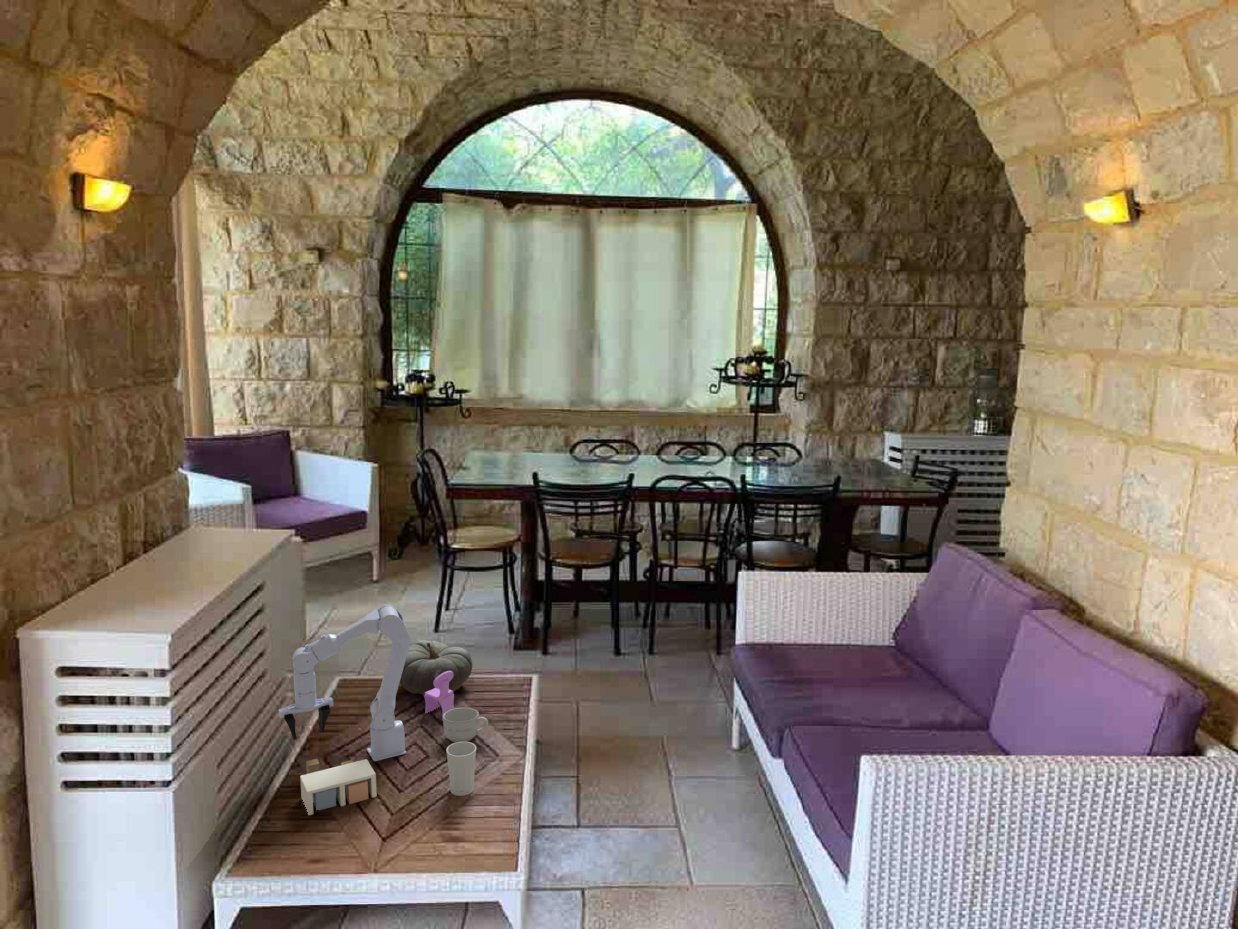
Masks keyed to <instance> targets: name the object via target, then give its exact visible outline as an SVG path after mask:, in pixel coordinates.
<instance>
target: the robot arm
mask: <svg viewBox="0 0 1238 929" xmlns="http://www.w3.org/2000/svg"><path fill="white" fill-rule="evenodd" d="M379 631H380V634H383V636H386V637H387V638H389V639H390V640H391V642H392V644H391V647H390V651H389V654H388V658H387V662H386V666H385V670H384V673H383V677H382V681H381V684H380V688H379V690H378V692H377V693H376V696H375V698H374V699H373V700H372V701H371V703H370V706H369V711H370V714H371V717H372V719H371V722H370V723H369V733H370V747H367V748H366V751H367V752H368V754H369V756H370V758H371V759H372V761H373V762H378V761H382V760H385V759H389V758H393V757H399V756H401V755H405V754H407V751H406V740H405V739H406V738H405V737H406V736H405V727H404V724H403V722H402V720H399V719H398V720H396V717H395V709H396V698H397V697H396V696H397V693H398V690H399V685H400V679H401V675H402V672H403V668H404V664H405V661H406V657H407V653H408V650H409V646H411V642H412V638H411V636H410V632H409V630H408V628H407V625H406V623H405V620H404V618H403V615H402V613H401V612H400V611H399V610H398V609H397V608H396V607H395V606H394V605H392V604H385V605H382V606H381V607H379V608H376V609H374V610H372V611H371V612H369V613H368V614H367V615H365V616H364V617H362V618H360V619H359V620H357V621H356V622H354V623H352V624H351V625H350V626H347V627H346V628H345V629H343V630H341V631H339V632H337V633H336V634H332V633H328V634H325V633H323V634H322V635H320V638H319V639H317V640H315V641H313V642H311V643H310V644H309V643H307V644H305V645H304V647H303V646H301V647H299V648H297V649H295V650H294V651H293V653H292V657H291V659H292V668H293V688H294V689H293V690H294V691H293V692H294V701H295V702H294V703H293V704H290V705H288V706H286V707H285V706H284V707H283V708H279V709H278V717H279V718H280V719H284V721H285V722H286V724H287V727H288V728H289V730H290V734H291V737H292V740H293V741H295V740H297V732H296V718H295V716H294V715H297V714H301V713H307V712H311V711H314V710H316V709H317V710H318V712H317V713H318V718H319V719H318V723H319V724H318V726H319V727H318V728H319V731H320V732H321V733H322V734H323V733H324V732H325V728H326V723H327V720H328V718H329V715H330V714H331V707H333V706H334V699H333V698H332V697H330V696H329V697H325V698H317V687H316V686H317V685H316V684H317V683H316V672H315V669H314V668H315V665H316V664H319V663H321V662H322V661H325V660H326V659H328V658H329V657H331V656H333V655H335V654H336V653H338V652H339V651H341V650H340V649H341V647H342V645H345V644H346V643H348V642H351V641H352V640H355V639H357V638H358V637H361V636H362V635H364V634H366V633H367V634H368V633H369V634H374V635H379Z"/></svg>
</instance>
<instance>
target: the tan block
mask: <svg viewBox="0 0 1238 929" xmlns="http://www.w3.org/2000/svg"><path fill="white" fill-rule="evenodd" d="M353 762H354V761H353V760H352V759H350V760H346V761H342V762H340V764H341V765H345V764H349V763H353ZM341 765H340V766H341ZM345 799H346V800H347V802H348V804H349V805H352V804H355V803H358V802H362V801H366V800H369V791H368V781H367V780H362V781H358V782H354V783H350V784H347V785H345Z"/></svg>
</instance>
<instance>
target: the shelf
mask: <svg viewBox="0 0 1238 929" xmlns="http://www.w3.org/2000/svg"><path fill="white" fill-rule="evenodd" d="M299 777H300V794H301V797H300V798H301V801H302V800H303V801H302V803H303V802H304V803H303V805H305V806H304V808H305V807H306V808H305V810H306V809H307V810H306V812H308V813H307V815H308V816H312V815H314V804H313V798H312V794H313V793H316V792H320V791H324V790H328V789H332V788H335V792H336V800H337V801H338V803H339V805H340V807H344V806H346V796H345V785H347V784H350V783H354V782H358V781H362V780H367V781H368V794H369V795H370V796H371V798H376V797H378V796H377V794H378V793H377V773H376V772H375V771H374V768H373V767H372V765H371V764H370V762H369V760H368V759H367V758H364V759H362V760H357V761H353V763H349V764H345V765H337V766H334V767H331V768H326V769H320V771H317V772H313V773H309V774H307V773H306V774H302V775H300V776H299Z"/></svg>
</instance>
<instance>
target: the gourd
mask: <svg viewBox="0 0 1238 929" xmlns="http://www.w3.org/2000/svg"><path fill="white" fill-rule="evenodd" d="M471 657H472V656H471V654H470V653H469V651H468V650H467V649H466V648H463V647H459V646H452V647H450V646H449V645H447V644H446V643H443V642H441V641H437V640H432V641H431V640H427V639H423V640H422V639H419V640H416V641H415V642H414V643H413V644H412V645H411V644H410V646H409V650H408V653H407V657H406V661H405V664H404V668H403V672H402V675H401V679H400V683H399V685H400V686H401V687H402V688H404V689H405V690H406V691H408V692H409V693H411V694H416V695H417V694H418V695H422V696H423V697H424V695H425V692H427V691H430V690H432V689H434V688H435V686H434V684H433V682H434V680H435V679H436V678H437V677H438V676H439V675H440V674H442V673H444V672H446V671H452V672H453V678H452V679H451V681H450V682H449V690H452V691H453V692H455V691H458V690H459V689H460V688H461V687H462V686H463V684H465V683H466V682H467V680H468V679H469V678H470V676H471V674H472V670H473V661H472V658H471Z"/></svg>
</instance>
